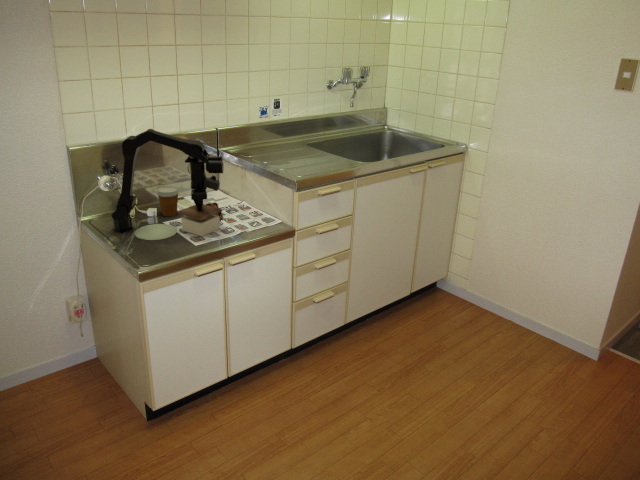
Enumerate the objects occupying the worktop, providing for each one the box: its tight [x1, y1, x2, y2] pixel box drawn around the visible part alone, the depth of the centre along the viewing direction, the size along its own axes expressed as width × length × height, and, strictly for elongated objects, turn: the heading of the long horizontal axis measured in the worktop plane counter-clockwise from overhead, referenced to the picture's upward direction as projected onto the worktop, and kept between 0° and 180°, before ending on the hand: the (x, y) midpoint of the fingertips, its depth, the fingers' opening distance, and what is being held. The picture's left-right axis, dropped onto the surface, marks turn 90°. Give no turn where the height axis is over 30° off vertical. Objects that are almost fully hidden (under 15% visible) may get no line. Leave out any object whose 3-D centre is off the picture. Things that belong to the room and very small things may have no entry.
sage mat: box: [134, 223, 178, 241], centre depth 226 cm, size 17×17×1 cm
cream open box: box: [180, 214, 221, 237], centre depth 229 cm, size 11×11×6 cm
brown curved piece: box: [205, 202, 224, 221], centre depth 243 cm, size 12×10×8 cm
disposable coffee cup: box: [156, 185, 180, 217], centre depth 243 cm, size 10×10×12 cm
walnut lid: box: [177, 202, 223, 220], centre depth 226 cm, size 13×13×5 cm
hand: (199, 209), depth 227 cm, fingers closed on walnut lid, 3 cm apart
